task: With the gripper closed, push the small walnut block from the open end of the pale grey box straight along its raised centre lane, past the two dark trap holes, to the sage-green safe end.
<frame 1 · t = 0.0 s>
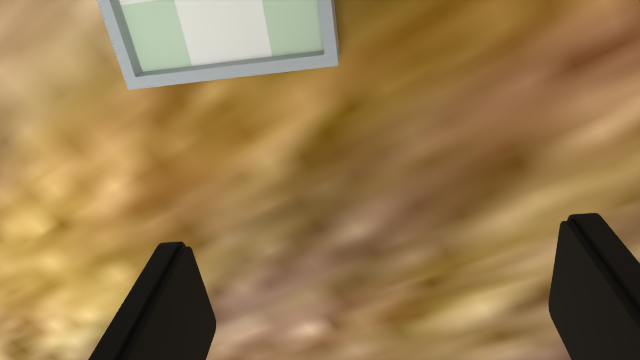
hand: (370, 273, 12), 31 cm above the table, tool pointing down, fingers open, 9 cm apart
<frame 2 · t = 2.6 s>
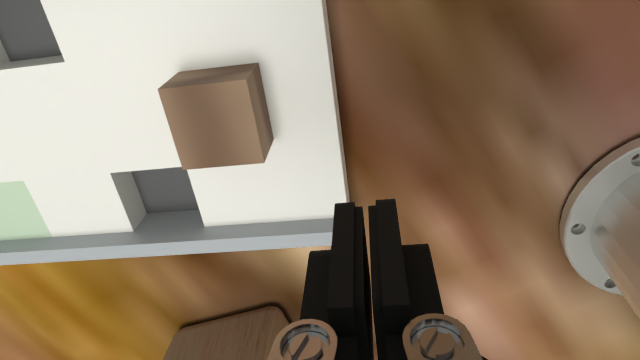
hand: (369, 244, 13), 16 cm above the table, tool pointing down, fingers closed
walnut block: (227, 106, 26), point 2 cm above the table, touching trap box
block: (252, 350, 40), on the table
trap box: (123, 104, 29), on the table
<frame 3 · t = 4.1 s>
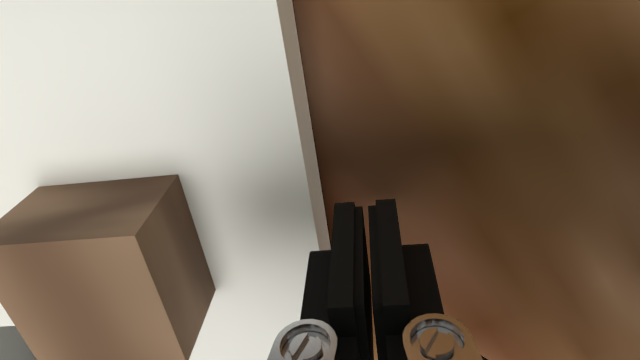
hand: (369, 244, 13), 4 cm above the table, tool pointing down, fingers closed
walnut block: (131, 240, 15), point 2 cm above the table, touching trap box
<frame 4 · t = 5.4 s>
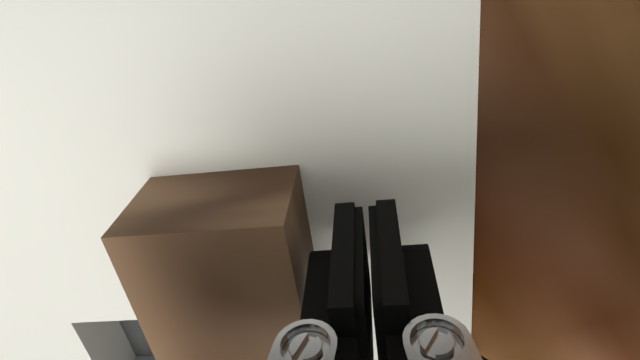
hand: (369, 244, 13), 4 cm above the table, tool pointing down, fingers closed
walnut block: (239, 233, 14), point 3 cm above the table, touching gripper
trap box: (93, 205, 17), on the table
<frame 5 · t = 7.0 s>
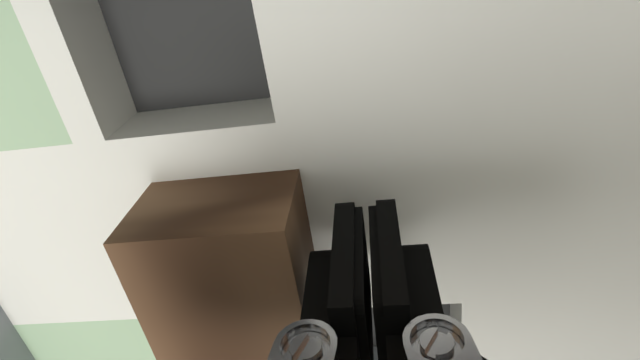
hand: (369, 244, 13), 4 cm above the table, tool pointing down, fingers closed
walnut block: (240, 237, 14), point 2 cm above the table, touching gripper, trap box
trap box: (332, 184, 16), on the table
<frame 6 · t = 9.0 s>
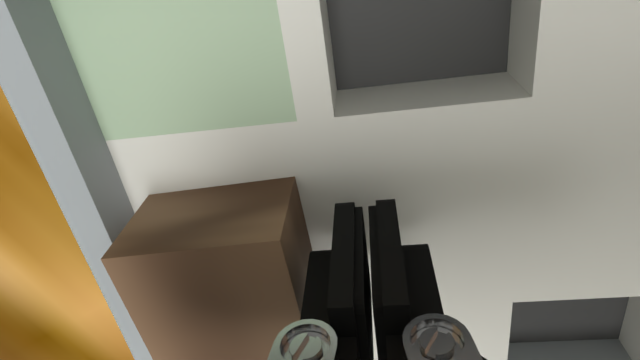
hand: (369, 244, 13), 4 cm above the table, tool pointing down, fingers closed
walnut block: (240, 246, 14), point 2 cm above the table, touching gripper, trap box
trap box: (528, 168, 15), on the table
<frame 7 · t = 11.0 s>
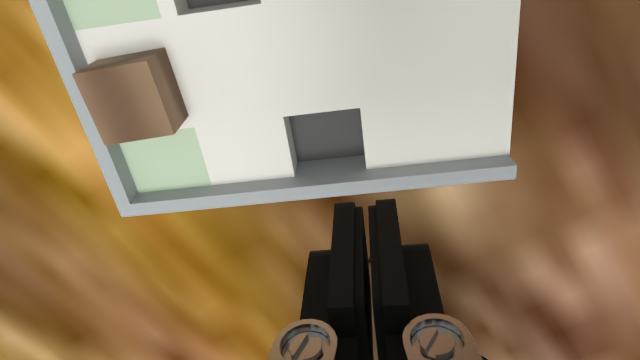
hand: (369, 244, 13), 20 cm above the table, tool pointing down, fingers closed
walnut block: (143, 88, 29), point 2 cm above the table, touching trap box
trap box: (292, 51, 30), on the table
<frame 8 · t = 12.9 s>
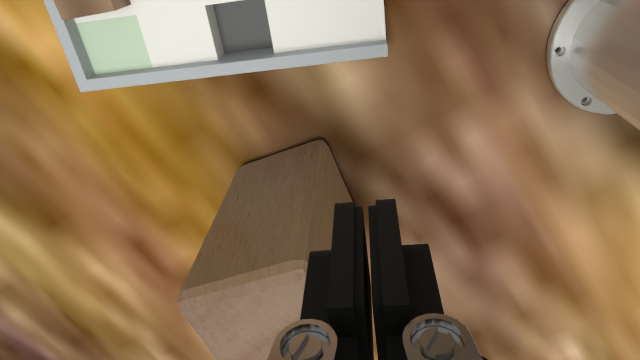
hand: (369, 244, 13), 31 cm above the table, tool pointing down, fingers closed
block: (299, 187, 49), on the table
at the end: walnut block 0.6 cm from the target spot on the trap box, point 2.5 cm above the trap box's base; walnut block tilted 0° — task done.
